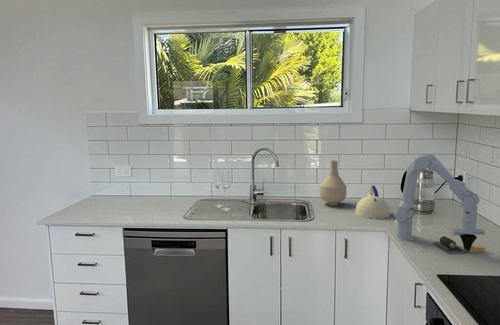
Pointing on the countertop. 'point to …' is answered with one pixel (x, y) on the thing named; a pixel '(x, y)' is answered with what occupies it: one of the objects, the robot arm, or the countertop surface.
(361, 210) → the kettle
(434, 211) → the countertop surface
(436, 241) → the board
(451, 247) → the dark grey cylinder
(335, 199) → the vase
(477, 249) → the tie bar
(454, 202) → the countertop surface
